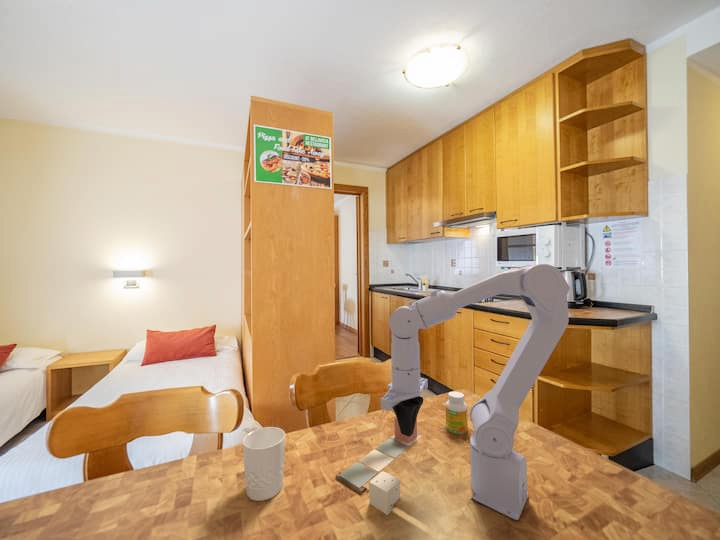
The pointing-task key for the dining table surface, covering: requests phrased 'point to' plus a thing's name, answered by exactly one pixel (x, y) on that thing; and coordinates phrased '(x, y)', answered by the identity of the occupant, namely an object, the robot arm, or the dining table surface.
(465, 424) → the supplement bottle
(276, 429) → the white cup
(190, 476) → the dining table surface
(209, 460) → the dining table surface
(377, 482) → the die
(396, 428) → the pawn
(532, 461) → the dining table surface
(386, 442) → the track
